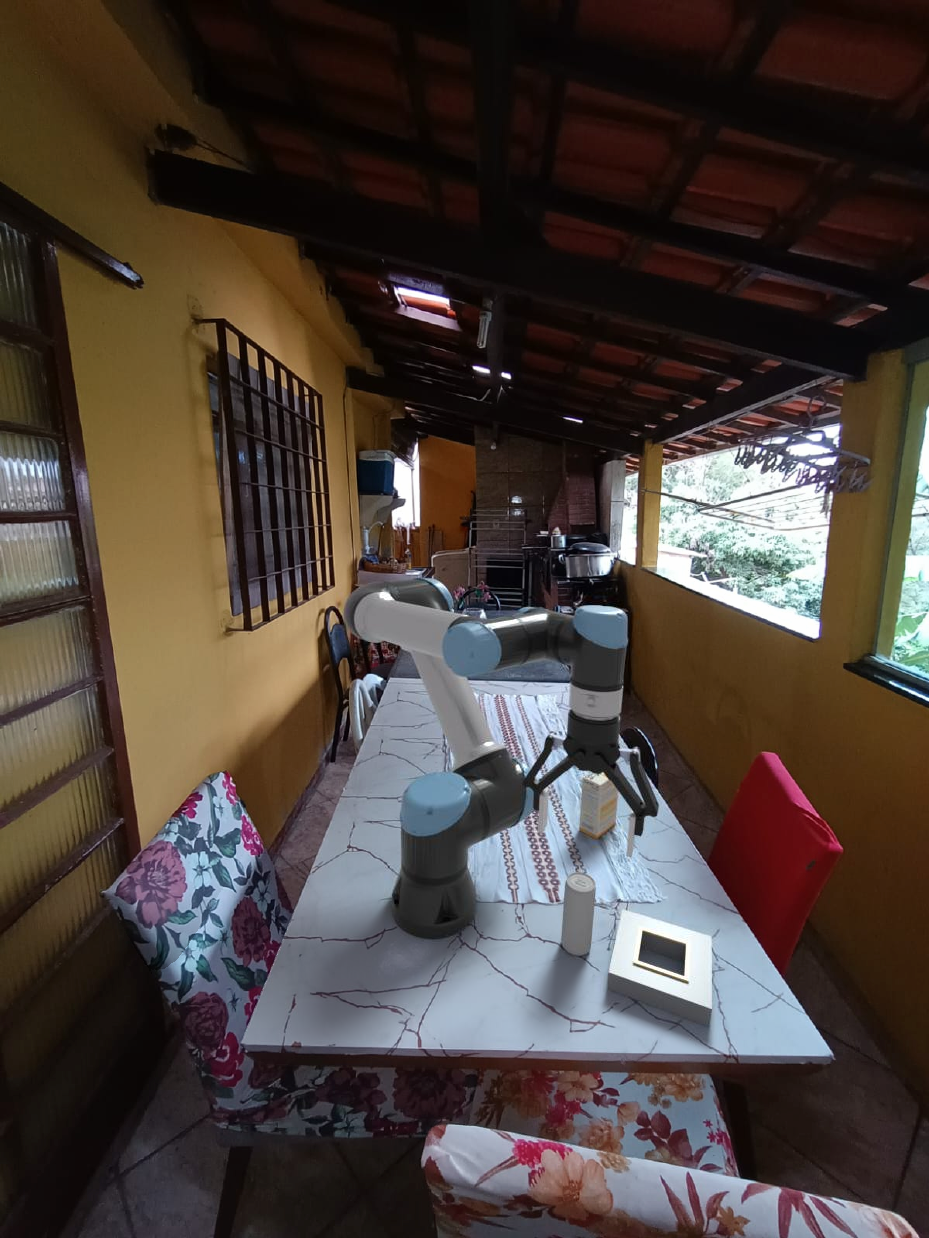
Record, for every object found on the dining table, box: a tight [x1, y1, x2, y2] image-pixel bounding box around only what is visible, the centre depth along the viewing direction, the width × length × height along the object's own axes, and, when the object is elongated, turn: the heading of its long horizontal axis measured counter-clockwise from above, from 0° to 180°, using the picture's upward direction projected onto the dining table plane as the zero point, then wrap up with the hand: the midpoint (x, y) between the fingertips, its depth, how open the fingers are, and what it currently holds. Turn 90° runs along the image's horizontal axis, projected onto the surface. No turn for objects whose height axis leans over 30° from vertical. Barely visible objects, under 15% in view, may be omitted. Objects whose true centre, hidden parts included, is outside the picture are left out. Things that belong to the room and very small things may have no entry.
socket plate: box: [606, 908, 713, 1028], centre depth 83 cm, size 14×14×3 cm
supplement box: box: [578, 771, 619, 839], centre depth 119 cm, size 8×5×13 cm, turn 134°
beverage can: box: [560, 871, 597, 957], centre depth 87 cm, size 5×5×12 cm
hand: (584, 840), depth 84 cm, fingers open, 13 cm apart
